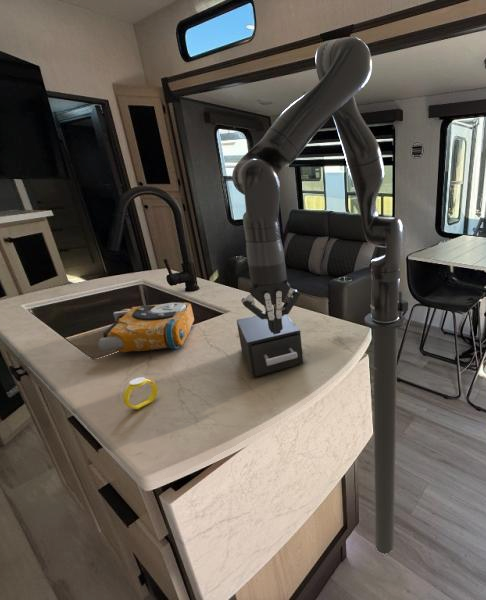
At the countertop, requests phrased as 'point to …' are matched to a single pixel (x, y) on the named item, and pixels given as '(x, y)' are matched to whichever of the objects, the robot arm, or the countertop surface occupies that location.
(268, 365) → the open drawer cabinet
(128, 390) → the watch
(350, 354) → the countertop surface
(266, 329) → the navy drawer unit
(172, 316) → the device
